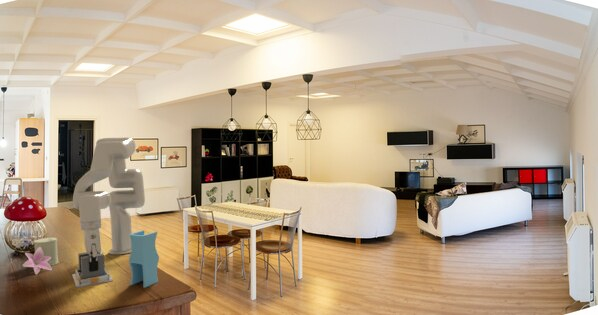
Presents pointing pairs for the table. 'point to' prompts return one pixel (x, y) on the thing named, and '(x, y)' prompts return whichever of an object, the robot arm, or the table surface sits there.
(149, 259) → the blue tall curved block
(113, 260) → the table surface
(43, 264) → the lily
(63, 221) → the table surface
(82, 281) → the rack
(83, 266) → the panel
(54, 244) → the can
